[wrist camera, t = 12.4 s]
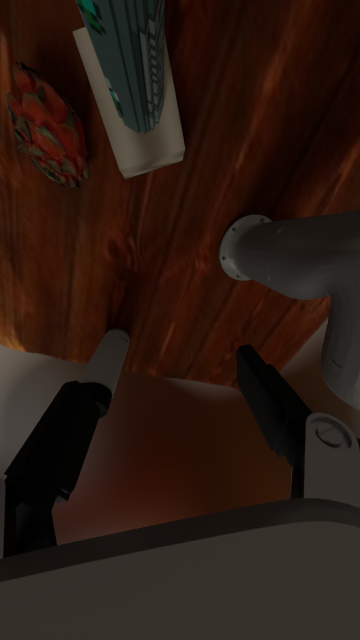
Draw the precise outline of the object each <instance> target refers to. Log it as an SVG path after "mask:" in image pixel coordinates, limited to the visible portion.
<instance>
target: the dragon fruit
mask: <svg viewBox="0 0 360 640" xmlns="http://www.w3.org/2000/svg"><path fill="white" fill-rule="evenodd" d="M20 63H21V65H22V68H23V69H22V68H21V67H20V66H19V64H18V63H17V62H16V64H14V65H13V68H12V67H10V68H12V69H13V74H14V77H15V81H16V86H17V89H18V91H19V95H20V100H19V101H18V100H16V99H15V98H14V97H13V96H12V94H11V92H9V94H7V102H8V105H9V106H8V112H9V116H10V118H11V121H12V123H13V124H14V122H16V121H17V124H16V125H17V126H15V127H14V128H13V129H14V132H15V134H16V137H17V140H18V141H19V142H20V143H21V144H20V145H19V146H17V149H18V150H19V151H20V152H23V153H25V154H30V156H31V160H32V162H33V164H34V167H35V169H36V170H37V171H39V172H41V173H43V174H45V175H46V176H47V177H48V178H50V179H51V180H53V181H54V182H56V183H60V184H61V185H62V186H63V187H67V186H68V183H70V187H69V188H73V187H80V188H81V186H82V177H81V174H82V173H83V175H84V177H85V178H86V179H89V175H90V170H89V168H88V163H87V162H86V161H85V160H86V157H87V156H88V154H89V151H88V149H87V148H86V147H85V134H84V128H83V126H82V123H81V121H80V119H79V118H78V116H77V115H76V113H75V112H74V111H73V109H72V108H71V107H70V105H69V104H68V102H67V101H66V99H65V97H64V96H63V95H62V93H61V92H60V91H59V93H60V94H59V93H57V92H56V91H55V90H54V88H53V87H52V86H51V85H49V84H48V83H47V82H46V81H45V80H44V78H43V77H42V76H41V75H40V74H39V73H38V72H36V71H35V70H33V69H32V68H30V67H27V66H26V65H25V64H23V63H22V62H20ZM24 69H25V70H27V72H28V74H29V76H27V75H26V74H25V72H24V71H23V70H24ZM7 70H8V69H7ZM10 108H11V109H12V111H13V113H12V112H11V109H10Z"/></svg>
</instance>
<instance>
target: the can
mask: <svg viewBox="0 0 360 640" xmlns="http://www.w3.org/2000/svg"><path fill="white" fill-rule="evenodd" d="M76 2H77V4H78V7H79V10H80V13H81V15H82V18H83V21H84V23H85V26H86V29H87V31H88V34H89V37H90V40H91V42H92V45H93V48H94V50H95V53H96V56H97V59H98V61H99V64H100V67H101V69H102V72H103V75H104V78H105V80H106V83H107V86H108V88H109V91H110V94H111V96H112V99H113V102H114V104H115V107H116V110H117V112H118V115H119V117H120V118H122V119H123V122H124V125H126V126H127V127H129V128H130V129H132V130H133V131H135V132H136V133H138V134H139V133H140V131H142V132H143V133H145V134H146V132H147V131H148V132H150V129H152V130H154V127H155V123H157V124H159V121H160V117H161V113H162V109H163V106H164V19H165V0H76Z"/></svg>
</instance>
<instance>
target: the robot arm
mask: <svg viewBox="0 0 360 640" xmlns="http://www.w3.org/2000/svg"><path fill="white" fill-rule="evenodd" d="M260 220H261V222H260ZM232 228H234V230H232ZM222 257H224V258H223V259H222ZM219 261H220V265H221V267H222V269H223V270H224V272H225V273H226V274H227V275H229V276H230V277H232V278H234V279H236V280H243V281H244V280H250V279H253V280H255V281H257V282H259V283H261V284H263V285H265V286H267V287H269V288H271V289H273V290H275V291H277V292H279V293H281V294H284V295H286V296H288V297H291V298H294V299H300V300H309V299H316V298H320V297H324V296H327V295H330V298H331V305H330V311H329V316H328V324H327V329H326V334H325V339H324V343H323V348H322V354H321V362H320V365H321V372H322V375H323V378H324V380H325V382H326V383H327V385H328V386H329V387H330V389H331V390H332V391H333V392H334V393H335V394H336V395H337V396H338V397H340V398H341V399H343V401H345V402H346V403H348V404H349V405H351V406H352V407H354V408H356V409H358V410H360V209H357V210H352V211H346V212H340V213H333V214H326V215H318V216H312V217H304V218H296V219H288V220H280V221H271V220H270V219H269V218H267V217H266V216H263V215H256V214H253V215H248V216H245V217H242V218H240V219H238V220H237V221H235V222H234V223H233V224H232V225H231V226H230V227H229V228H228V229H227V231H226V232H225V234H224V235H223V238H222V240H221V243H220V247H219ZM237 275H238V276H237ZM237 383H238V386H239V388H240V390H241V392H242V394H243V396H244V398H245V400H246V402H247V404H248V406H249V407H250V410H251V412H252V413H253V415H254V418H255V419H256V421H257V423H258V425H259V427H260V429H261V431H262V433H263V435H264V437H265V439H266V441H267V443H268V445H269V447H270V449H271V450H275V451H276V453H277V455H278V457H281V456H285V457H286V458H287V460H288V462H289V464H290V465H291V466H292V480H291V493H290V500H280V501H274V502H269V503H263V504H257V505H252V506H246V507H241V508H236V509H231V510H226V511H221V512H216V513H211V514H206V515H201V516H196V517H191V518H186V519H181V520H176V521H172V522H168V523H162V524H157V525H153V526H147V527H143V528H138V529H133V530H128V531H124V532H119V533H114V534H109V535H105V536H100V537H95V538H90V539H86V540H81V541H76V542H72V543H68V544H62V545H58V546H57V540H56V534H55V528H54V521H53V515H52V508H53V505H54V503H60V502H66V501H68V499H69V496H70V494H71V492H72V491H73V490H74V488H75V486H76V483H77V480H78V477H79V474H80V471H81V469H82V466H83V463H84V460H85V457H86V454H87V451H88V448H89V446H90V443H91V440H92V437H93V434H94V431H95V428H96V425H97V422H98V420H99V417H100V409H99V407H98V406H97V404H96V403H95V402H94V400H93V399H92V397H91V396H90V394H89V393H88V392H87V390H86V389H85V387H84V386H83V385H82V383H80V382H78V381H71V382H67V383H65V384H64V385H63V386H62V387H61V389H60V390H59V392H58V393H57V395H56V396H55V398H54V399H53V401H52V403H51V404H50V405H49V407H48V409H47V410H46V411H45V413H44V414H43V416H42V417H41V419H40V421H39V422H38V423H37V425H36V427H35V428H34V430H33V431H32V433H31V434H30V436H29V437H28V439H27V440H26V442H25V443H24V445H23V446H22V448H21V449H20V451H19V452H18V454H17V455H16V457H15V458H14V460H13V461H12V463H11V464H10V466H9V467H8V469H7V470H6V472H5V473H4V474H5V475H7V478H6V479H5V481H4V480H3V479H0V640H360V439H358V438H356V436H355V435H354V434H353V432H352V431H351V429H350V428H348V427H347V426H346V425H345V424H344V423H343V422H341V421H339V420H338V419H337V418H335V417H333V416H330V415H328V414H324V413H312V411H311V410H310V409H309V408H308V407H307V406H306V404H305V403H304V402H303V401H302V400H301V399H300V397H299V396H298V395H297V394H296V393H295V391H294V390H293V389H292V388H291V387H290V386H289V384H288V383H287V382H286V381H285V380H284V378H283V377H282V376H281V375H280V374H279V373H278V371H277V370H276V369H275V368H274V367H273V366H272V365H270V364H267V365H266V363H265V362H264V361H263V360H262V358H261V357H260V356H259V355H258V353H257V352H256V351H255V350H254V348H253V347H252V346H251V345H250V344H248V345H243V346H240V347H239V349H237Z"/></svg>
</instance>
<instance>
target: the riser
mask: <svg viewBox="0 0 360 640" xmlns="http://www.w3.org/2000/svg"><path fill="white" fill-rule="evenodd" d="M73 35H74V38H75V40H76V43H77V46H78V49H79V52H80V55H81V58H82V61H83V64H84V67H85V70H86V73H87V76H88V79H89V81H90V84H91V87H92V90H93V93H94V96H95V99H96V102H97V105H98V108H99V111H100V114H101V117H102V120H103V123H104V125H105V128H106V131H107V134H108V137H109V140H110V143H111V146H112V149H113V152H114V155H115V158H116V161H117V164H118V167H119V169H120V171H121V173H122V175H123V176H124V178H125V179H127V178H130V177H133V176H136V175H139V174H142V173H145V172H148V171H151V170H154V169H157V168H160V167H164V166H167V165H170V164H173V163H176V162H179V161H182V159H183V156H184V152H185V145H184V139H183V134H182V128H181V123H180V117H179V112H178V106H177V101H176V95H175V89H174V84H173V78H172V73H171V67H170V62H169V56H168V51H167V45H166V40H165V34H164V106H163V109H162V113H161V117H160V121H159V124H157V123H155V127H154V130H152V129H150V132H148V131H147V132H146V134H145V133H143V132H142V131H140V133H139V134H138V133H136V132H135V131H133V130H132V129H130V128H129V127H127V126H126V125H124V122H123V119H122V118H120V117H119V115H118V112H117V110H116V107H115V104H114V102H113V99H112V96H111V94H110V91H109V88H108V86H107V83H106V80H105V78H104V75H103V72H102V69H101V67H100V64H99V61H98V59H97V56H96V53H95V50H94V48H93V45H92V42H91V40H90V37H89V34H88V31H87V29H86V27H84V28H81V29H79V30H76V31H73Z"/></svg>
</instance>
